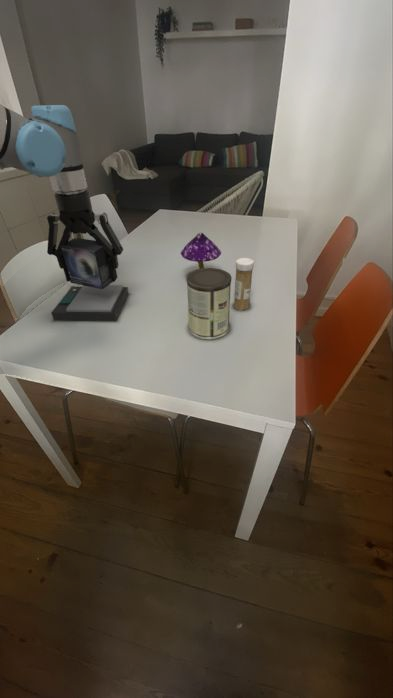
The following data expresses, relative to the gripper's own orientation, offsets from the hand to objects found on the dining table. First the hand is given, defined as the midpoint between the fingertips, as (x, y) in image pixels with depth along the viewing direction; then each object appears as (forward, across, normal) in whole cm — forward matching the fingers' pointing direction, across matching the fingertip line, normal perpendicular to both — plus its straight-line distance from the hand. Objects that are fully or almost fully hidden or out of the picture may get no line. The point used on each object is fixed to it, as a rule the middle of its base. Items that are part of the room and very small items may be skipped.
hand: (92, 279), depth 85 cm
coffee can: (+9, -31, +10) cm, 34 cm away
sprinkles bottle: (+9, -40, -1) cm, 41 cm away
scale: (+8, +2, 0) cm, 9 cm away
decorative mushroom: (+9, -28, -18) cm, 35 cm away
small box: (+1, 0, 0) cm, 1 cm away
